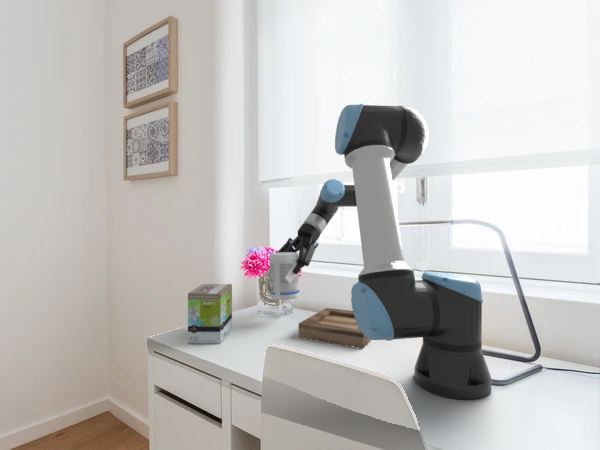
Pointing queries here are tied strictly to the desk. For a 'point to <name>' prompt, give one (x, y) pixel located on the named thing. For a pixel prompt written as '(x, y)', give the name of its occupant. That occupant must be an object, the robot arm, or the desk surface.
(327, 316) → the walnut base
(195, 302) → the tea box
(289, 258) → the supplement tub
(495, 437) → the desk surface
